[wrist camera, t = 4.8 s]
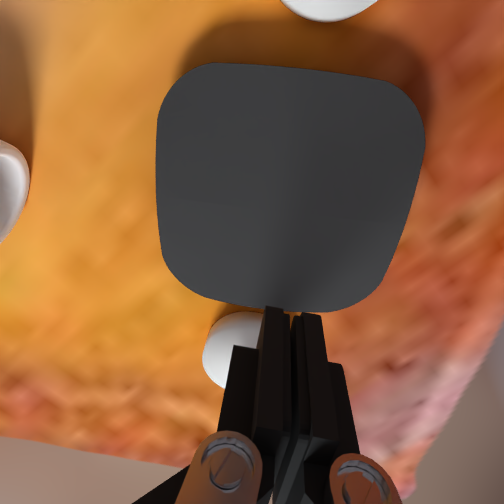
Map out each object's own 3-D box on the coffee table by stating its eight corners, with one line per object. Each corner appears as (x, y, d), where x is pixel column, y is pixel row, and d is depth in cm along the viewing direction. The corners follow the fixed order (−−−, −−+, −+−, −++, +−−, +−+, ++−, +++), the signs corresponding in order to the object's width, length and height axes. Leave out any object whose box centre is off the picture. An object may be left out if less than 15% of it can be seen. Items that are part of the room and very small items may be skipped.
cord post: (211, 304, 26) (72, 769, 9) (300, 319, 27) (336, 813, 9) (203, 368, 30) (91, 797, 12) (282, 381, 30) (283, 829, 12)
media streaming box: (166, 54, 19) (147, 52, 16) (430, 82, 19) (454, 84, 16) (171, 275, 26) (158, 298, 23) (363, 299, 26) (373, 325, 23)
